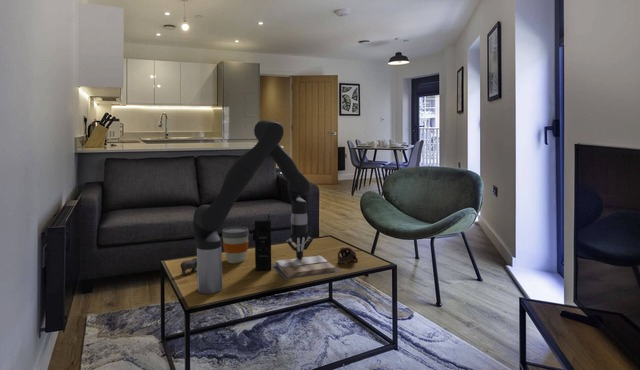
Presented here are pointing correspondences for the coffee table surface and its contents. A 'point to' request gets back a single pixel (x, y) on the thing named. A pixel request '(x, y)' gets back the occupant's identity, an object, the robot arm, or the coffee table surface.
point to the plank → (300, 262)
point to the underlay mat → (299, 276)
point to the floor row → (308, 269)
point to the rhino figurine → (189, 265)
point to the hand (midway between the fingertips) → (299, 258)
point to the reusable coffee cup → (235, 243)
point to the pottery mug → (346, 255)
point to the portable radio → (262, 244)
